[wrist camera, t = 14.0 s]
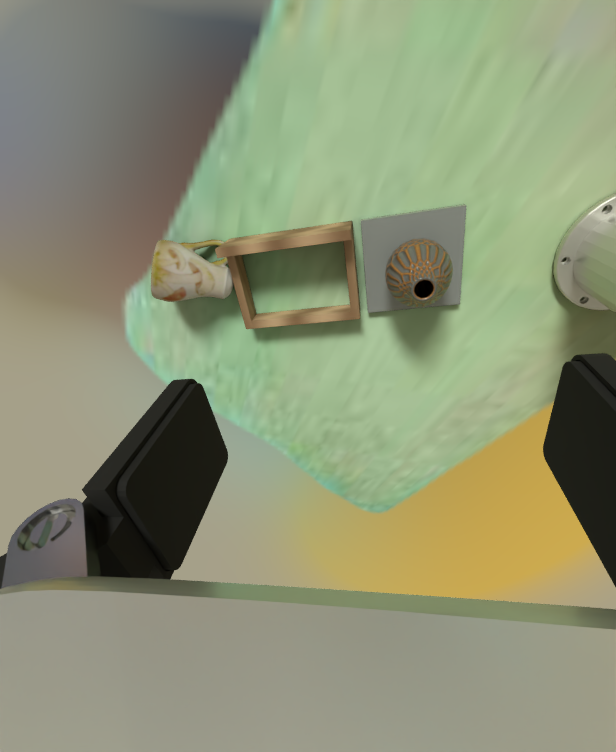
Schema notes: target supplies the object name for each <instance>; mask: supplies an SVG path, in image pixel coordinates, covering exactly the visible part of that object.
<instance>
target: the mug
mask: <svg viewBox="0 0 616 752" xmlns="http://www.w3.org/2000/svg"><path fill="white" fill-rule="evenodd" d="M223 243H224V242H223V241H220V240H209V241H204V242H198V243H177V242H173V241H167V240H159V241H158V242H157V245H156V248H155V252H154V257H153V263H152V272H151V292H152V295H153V297H155V298H156V299H160V300H163V301H168V302H174V301H182V300H187V299H193V298H197V297H215V298H221V299H224V298H226V297H228V296H229V295H230V294H231V291H232V289H233V284H234V283H233V279H232V276H231V272H230V269H229V268H228V267H226V265H227V264H228V261H227V258H226V257H224V259H223V260H221V261H215V262H212V263H211V262H208V261H207V260H205V259H203V258H202V257H201V256H199V255H198V254H196V253H195V252H194V251H195V250H196V249H200V248H203V247H208V246H215V245H217V246H220V245H221V244H223Z"/></svg>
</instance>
